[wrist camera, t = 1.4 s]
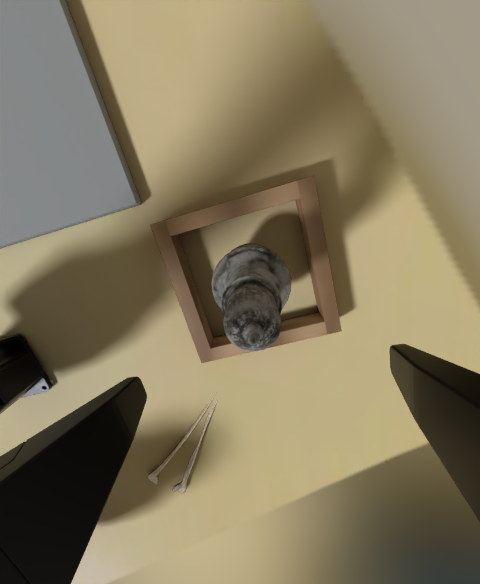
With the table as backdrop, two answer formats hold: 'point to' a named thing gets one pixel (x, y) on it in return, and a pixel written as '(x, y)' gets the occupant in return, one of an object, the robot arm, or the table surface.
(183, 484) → the tweezers
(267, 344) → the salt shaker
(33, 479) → the robot arm
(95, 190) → the grey mat
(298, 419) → the table surface
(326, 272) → the frame
